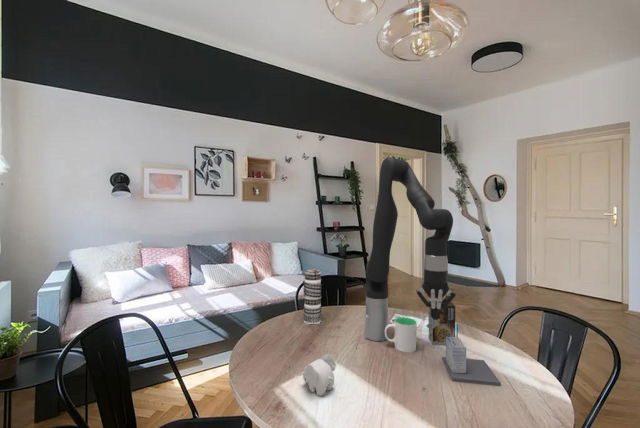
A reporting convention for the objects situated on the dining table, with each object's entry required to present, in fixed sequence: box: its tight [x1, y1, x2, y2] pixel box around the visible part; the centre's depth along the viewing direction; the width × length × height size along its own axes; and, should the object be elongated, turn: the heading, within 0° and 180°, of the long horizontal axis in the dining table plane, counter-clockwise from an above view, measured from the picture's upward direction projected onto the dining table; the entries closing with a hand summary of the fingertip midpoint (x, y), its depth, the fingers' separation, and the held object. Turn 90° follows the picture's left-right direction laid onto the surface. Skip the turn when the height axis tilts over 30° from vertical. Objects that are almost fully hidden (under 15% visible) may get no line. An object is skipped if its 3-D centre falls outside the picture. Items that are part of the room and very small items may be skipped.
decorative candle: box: [302, 267, 323, 325], centre depth 144 cm, size 9×9×25 cm
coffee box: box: [427, 299, 456, 346], centre depth 123 cm, size 9×6×16 cm
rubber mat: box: [441, 356, 502, 387], centre depth 100 cm, size 14×14×1 cm
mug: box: [385, 316, 417, 353], centre depth 118 cm, size 12×8×10 cm, turn 86°
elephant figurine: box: [298, 353, 337, 397], centre depth 91 cm, size 10×12×9 cm
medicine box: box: [445, 336, 467, 373], centre depth 101 cm, size 8×4×9 cm, turn 171°
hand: (435, 318), depth 102 cm, fingers closed
